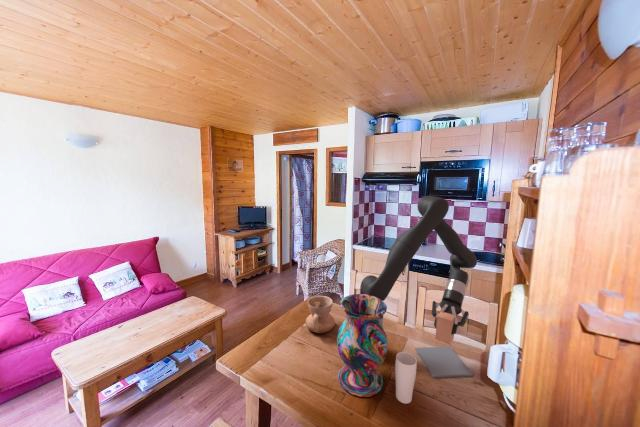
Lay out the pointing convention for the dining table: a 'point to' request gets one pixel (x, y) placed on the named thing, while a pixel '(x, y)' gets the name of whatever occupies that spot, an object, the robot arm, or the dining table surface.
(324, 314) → the ceramic jug
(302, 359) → the dining table surface
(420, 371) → the dining table surface
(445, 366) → the charcoal mat
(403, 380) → the drinking glass
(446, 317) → the brick block
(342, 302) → the vase
